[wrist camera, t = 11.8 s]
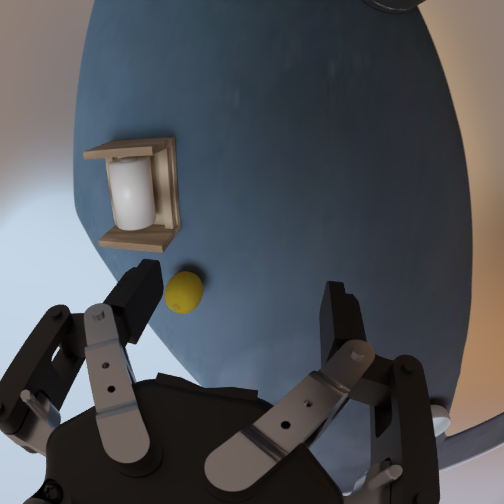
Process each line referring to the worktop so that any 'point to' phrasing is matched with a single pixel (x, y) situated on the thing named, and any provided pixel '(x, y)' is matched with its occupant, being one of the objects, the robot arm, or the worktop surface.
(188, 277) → the lemon
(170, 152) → the roll holder
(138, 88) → the worktop surface
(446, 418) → the cereal bowl
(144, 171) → the paper roll
